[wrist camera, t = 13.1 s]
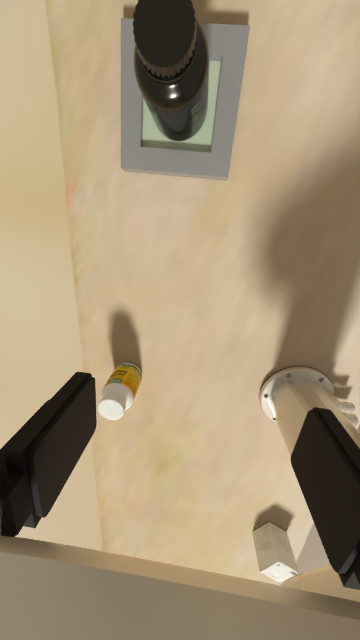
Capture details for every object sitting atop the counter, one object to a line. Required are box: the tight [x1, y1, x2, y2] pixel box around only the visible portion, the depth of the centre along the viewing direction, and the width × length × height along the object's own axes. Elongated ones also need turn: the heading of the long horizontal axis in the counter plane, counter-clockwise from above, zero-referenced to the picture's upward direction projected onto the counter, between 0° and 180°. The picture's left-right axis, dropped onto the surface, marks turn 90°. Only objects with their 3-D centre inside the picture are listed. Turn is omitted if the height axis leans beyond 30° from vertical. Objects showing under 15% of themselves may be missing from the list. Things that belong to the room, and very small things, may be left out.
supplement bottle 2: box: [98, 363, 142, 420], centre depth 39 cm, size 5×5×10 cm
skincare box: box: [253, 522, 299, 582], centre depth 53 cm, size 6×6×7 cm
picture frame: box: [121, 18, 250, 180], centre depth 28 cm, size 14×14×2 cm
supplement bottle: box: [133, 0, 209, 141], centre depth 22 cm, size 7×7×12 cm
